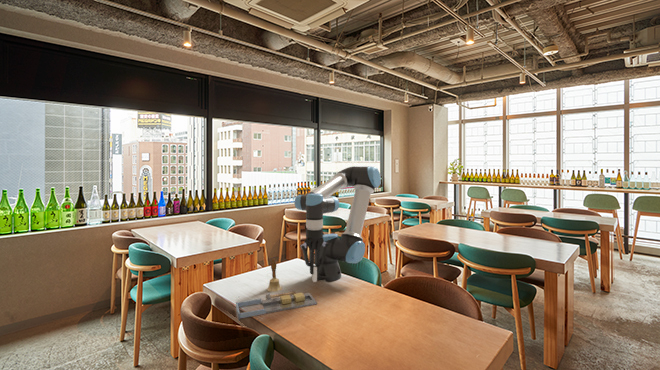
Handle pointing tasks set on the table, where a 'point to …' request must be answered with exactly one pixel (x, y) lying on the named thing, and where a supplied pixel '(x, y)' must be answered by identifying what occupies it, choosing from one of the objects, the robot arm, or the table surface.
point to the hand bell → (274, 279)
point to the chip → (285, 299)
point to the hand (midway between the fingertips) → (314, 280)
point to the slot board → (276, 306)
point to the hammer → (279, 295)
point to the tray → (250, 313)
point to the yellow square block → (298, 297)
